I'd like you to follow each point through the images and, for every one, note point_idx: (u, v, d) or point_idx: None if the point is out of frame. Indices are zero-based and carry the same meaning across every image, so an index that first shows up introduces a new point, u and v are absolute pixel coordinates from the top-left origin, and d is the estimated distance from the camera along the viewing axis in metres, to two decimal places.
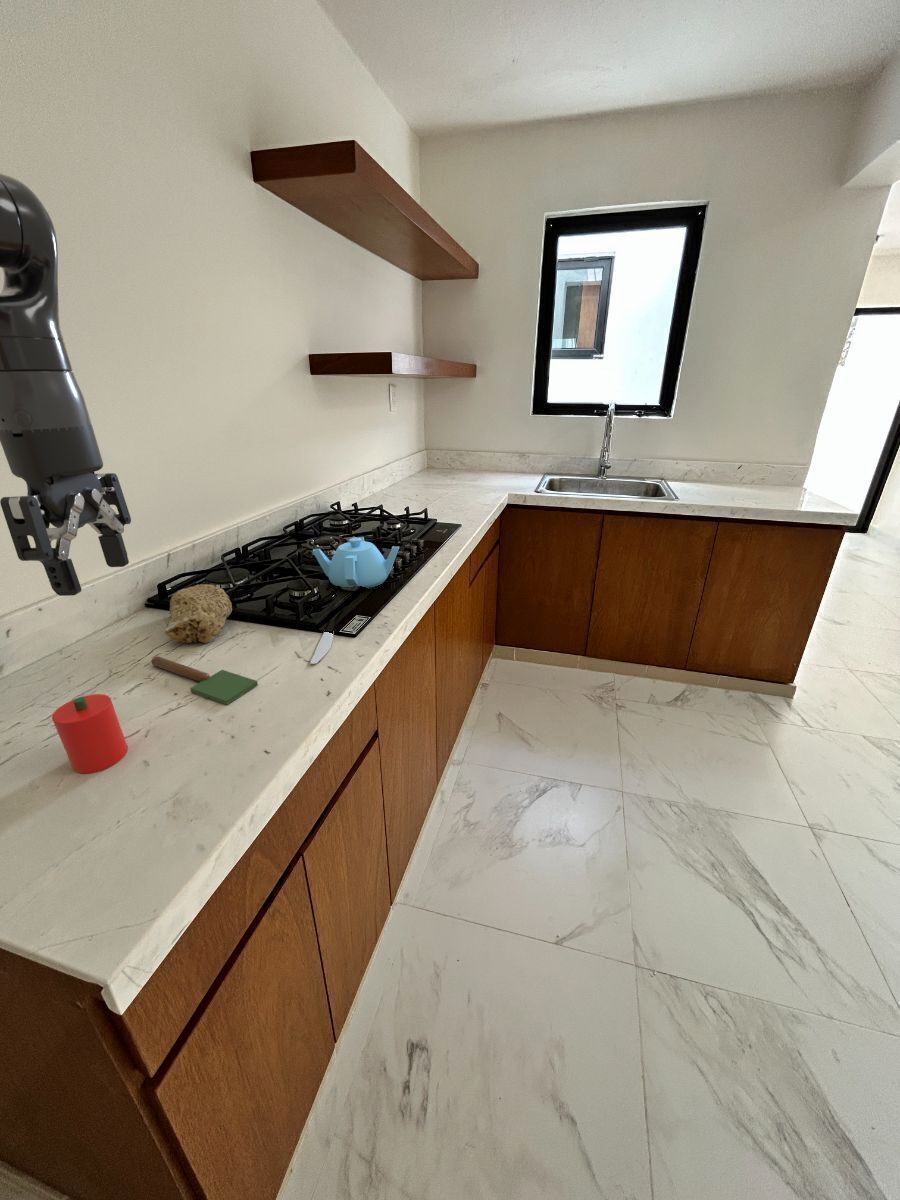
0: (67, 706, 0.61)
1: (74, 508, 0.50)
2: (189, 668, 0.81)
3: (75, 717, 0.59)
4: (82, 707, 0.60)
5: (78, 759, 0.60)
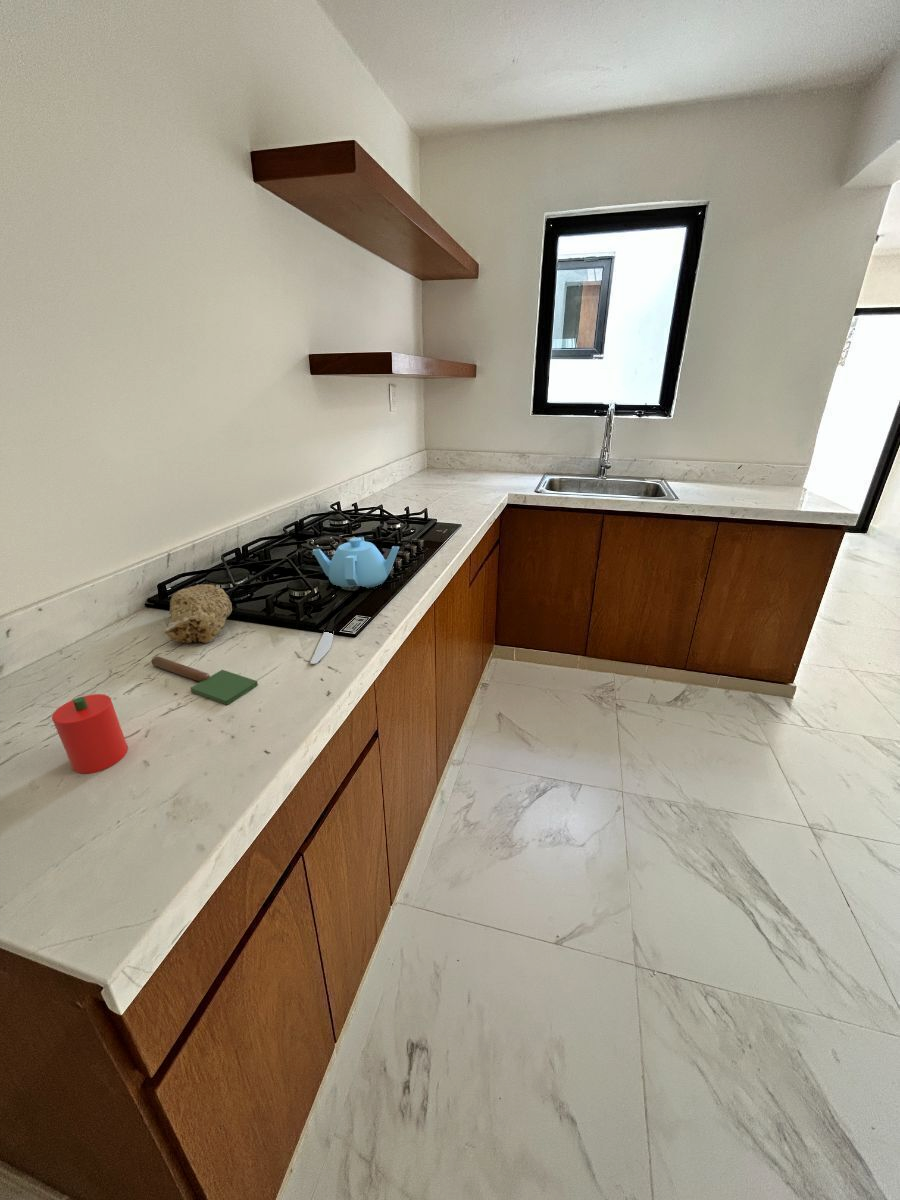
0: (67, 706, 0.61)
1: None
2: (189, 668, 0.81)
3: (75, 717, 0.59)
4: (82, 707, 0.60)
5: (78, 759, 0.60)
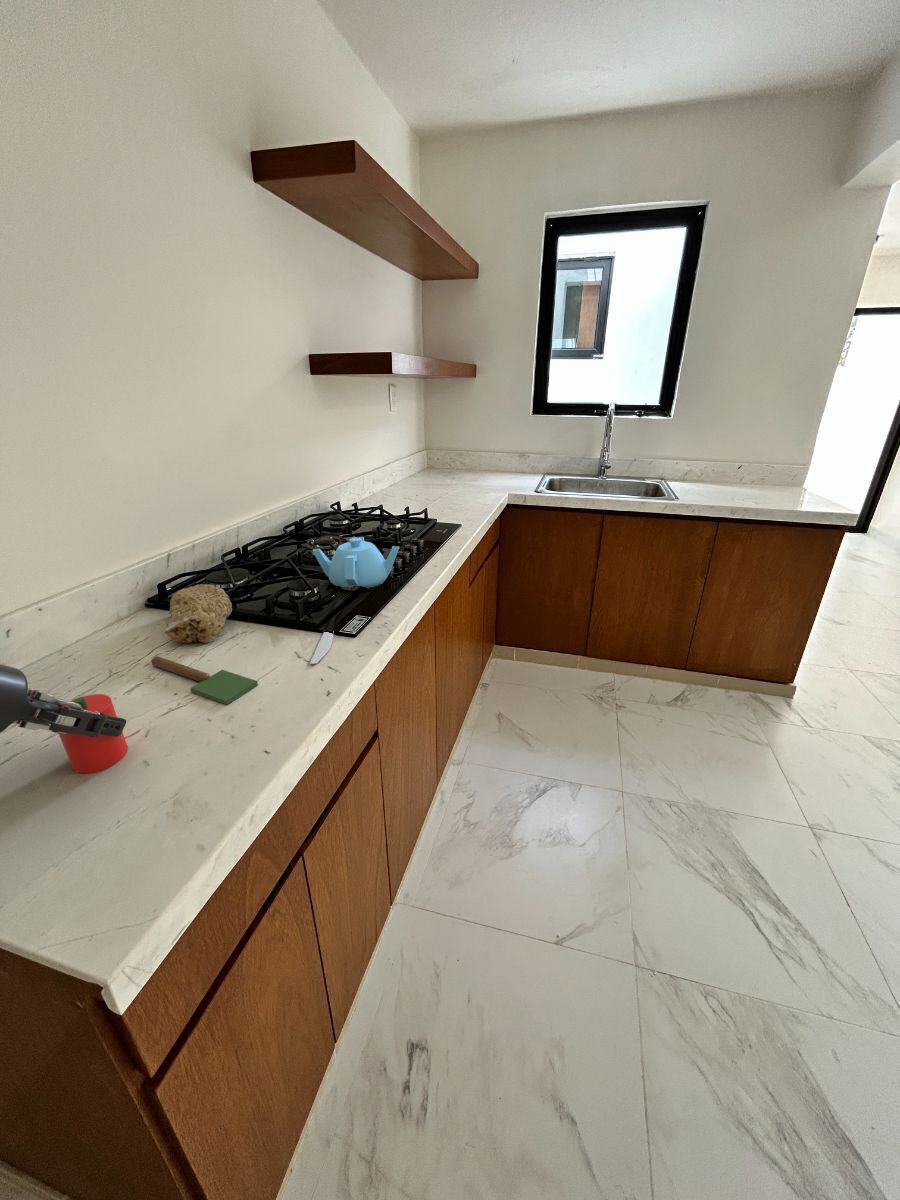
0: (67, 706, 0.61)
1: None
2: (189, 668, 0.81)
3: None
4: (82, 707, 0.60)
5: (78, 759, 0.60)
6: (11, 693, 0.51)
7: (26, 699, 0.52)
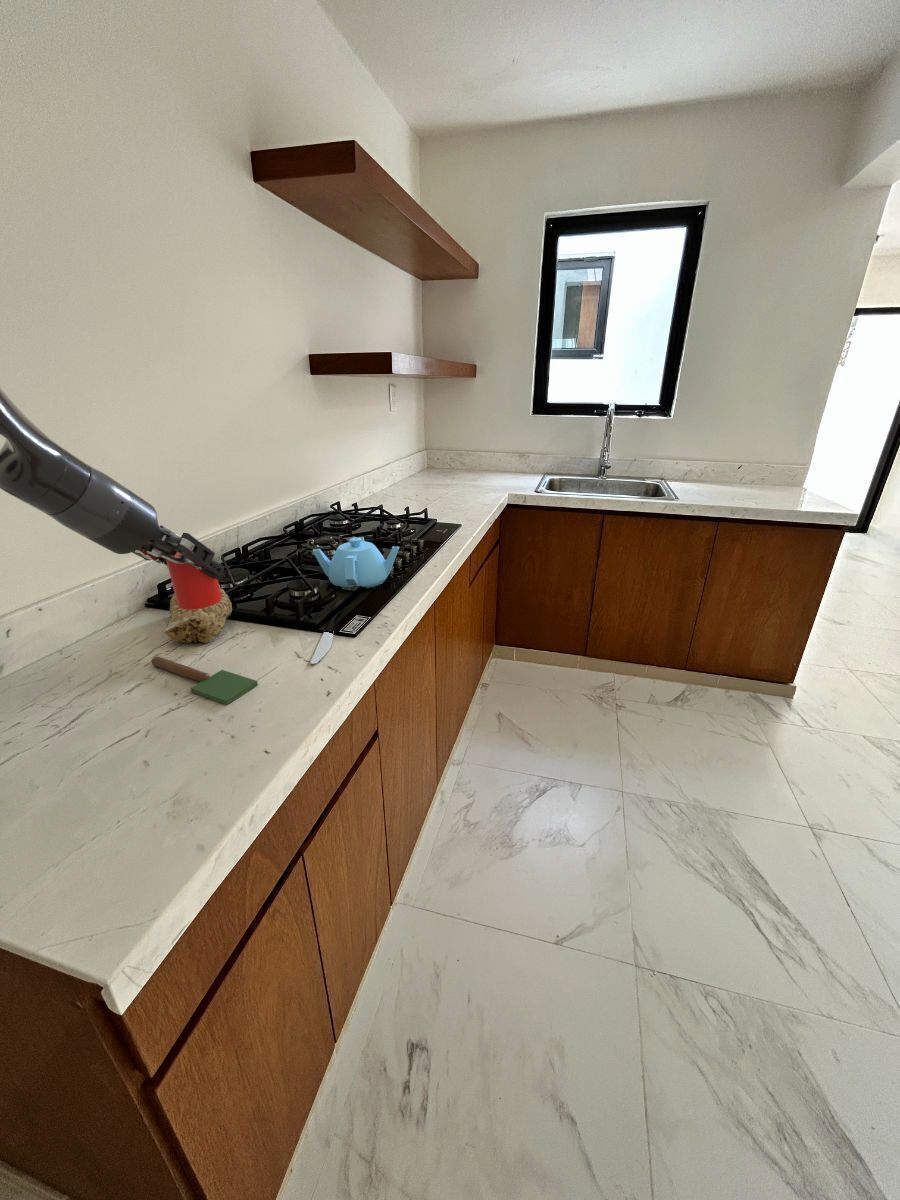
0: None
1: None
2: (189, 668, 0.81)
3: None
4: None
5: (185, 596, 0.71)
6: (147, 515, 0.61)
7: (157, 524, 0.63)
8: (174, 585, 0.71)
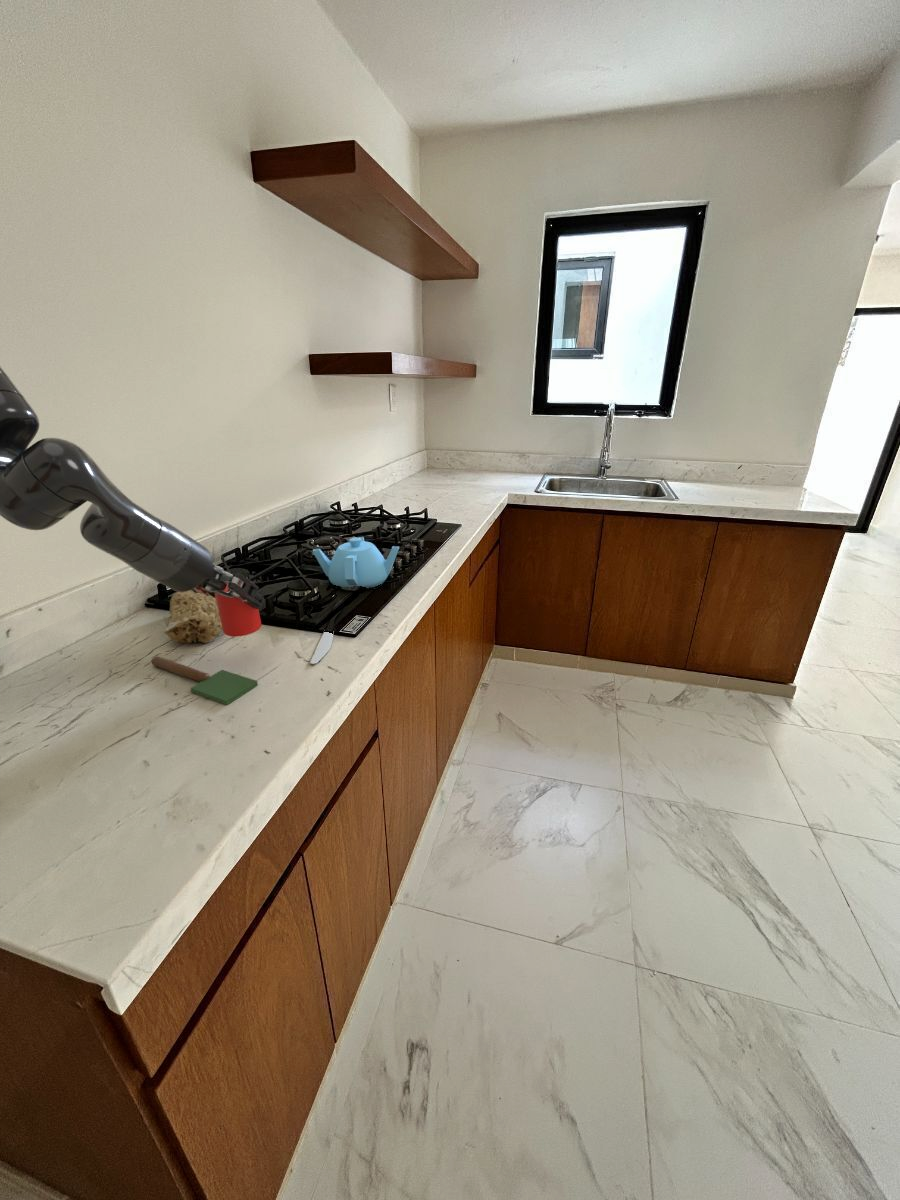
0: None
1: None
2: (189, 668, 0.81)
3: None
4: None
5: (231, 624, 0.80)
6: (204, 558, 0.70)
7: (212, 564, 0.71)
8: (221, 615, 0.80)
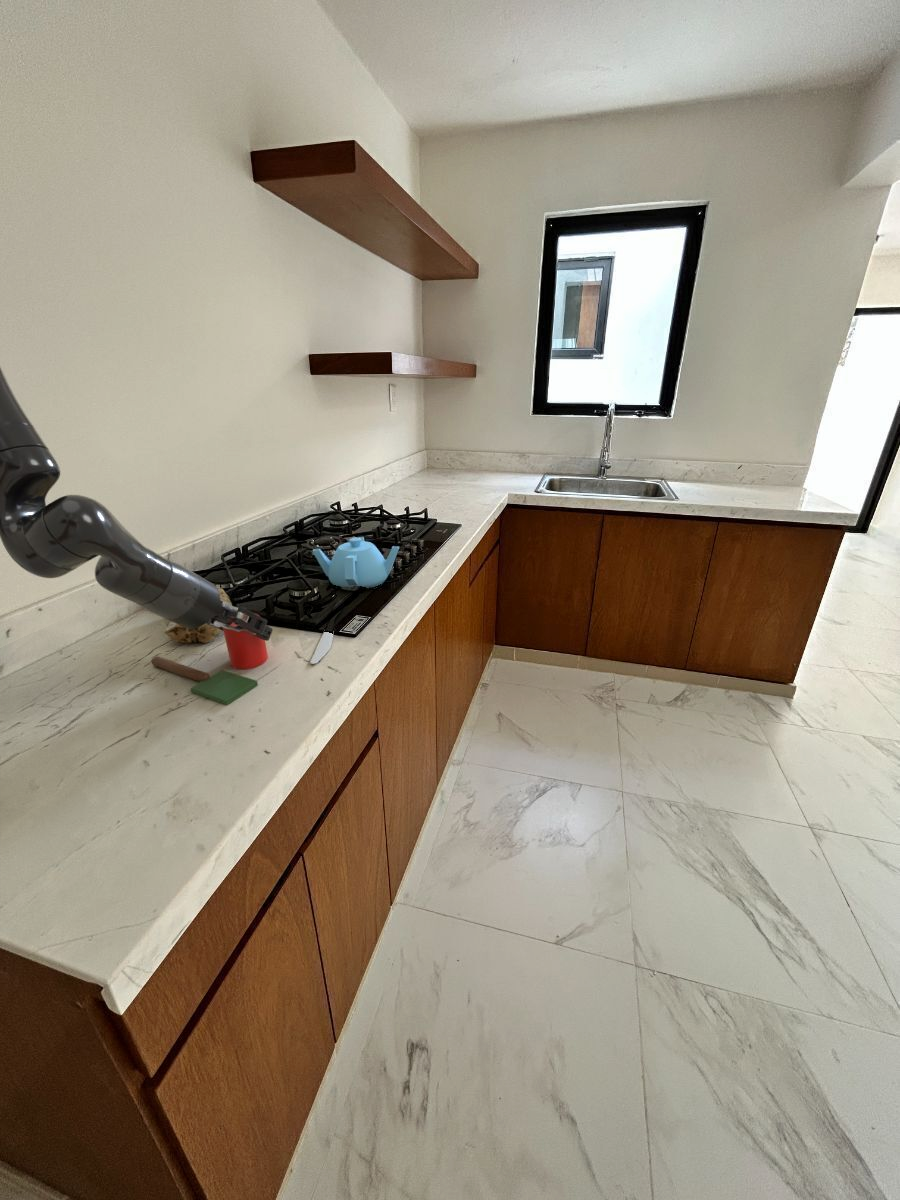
0: None
1: None
2: (189, 668, 0.81)
3: None
4: None
5: (239, 658, 0.82)
6: (213, 596, 0.72)
7: (220, 602, 0.74)
8: (229, 649, 0.82)
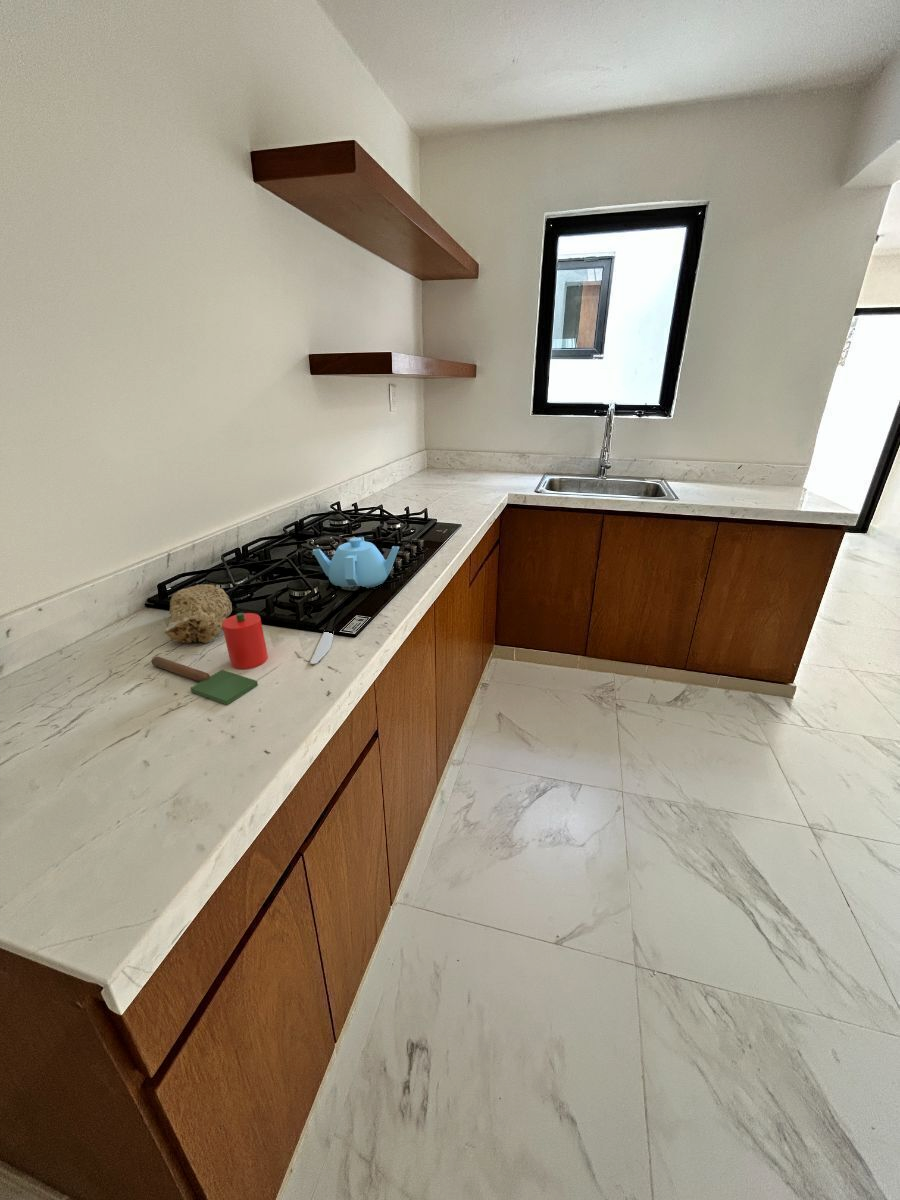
0: (229, 619, 0.83)
1: None
2: (189, 668, 0.81)
3: (240, 625, 0.81)
4: (242, 619, 0.82)
5: (239, 658, 0.82)
6: None
7: None
8: (229, 649, 0.82)
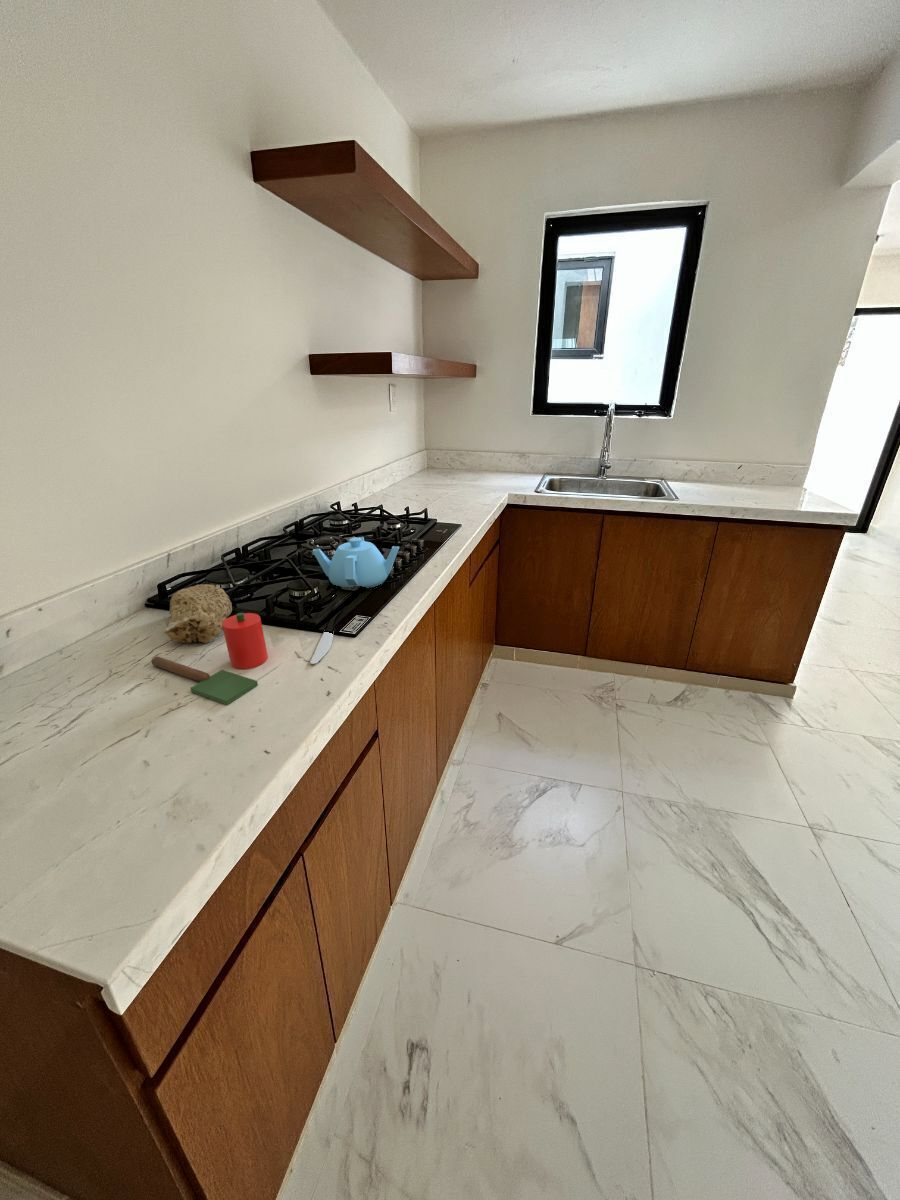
0: (229, 619, 0.83)
1: None
2: (189, 668, 0.81)
3: (240, 625, 0.81)
4: (242, 619, 0.82)
5: (239, 658, 0.82)
6: None
7: None
8: (229, 649, 0.82)
